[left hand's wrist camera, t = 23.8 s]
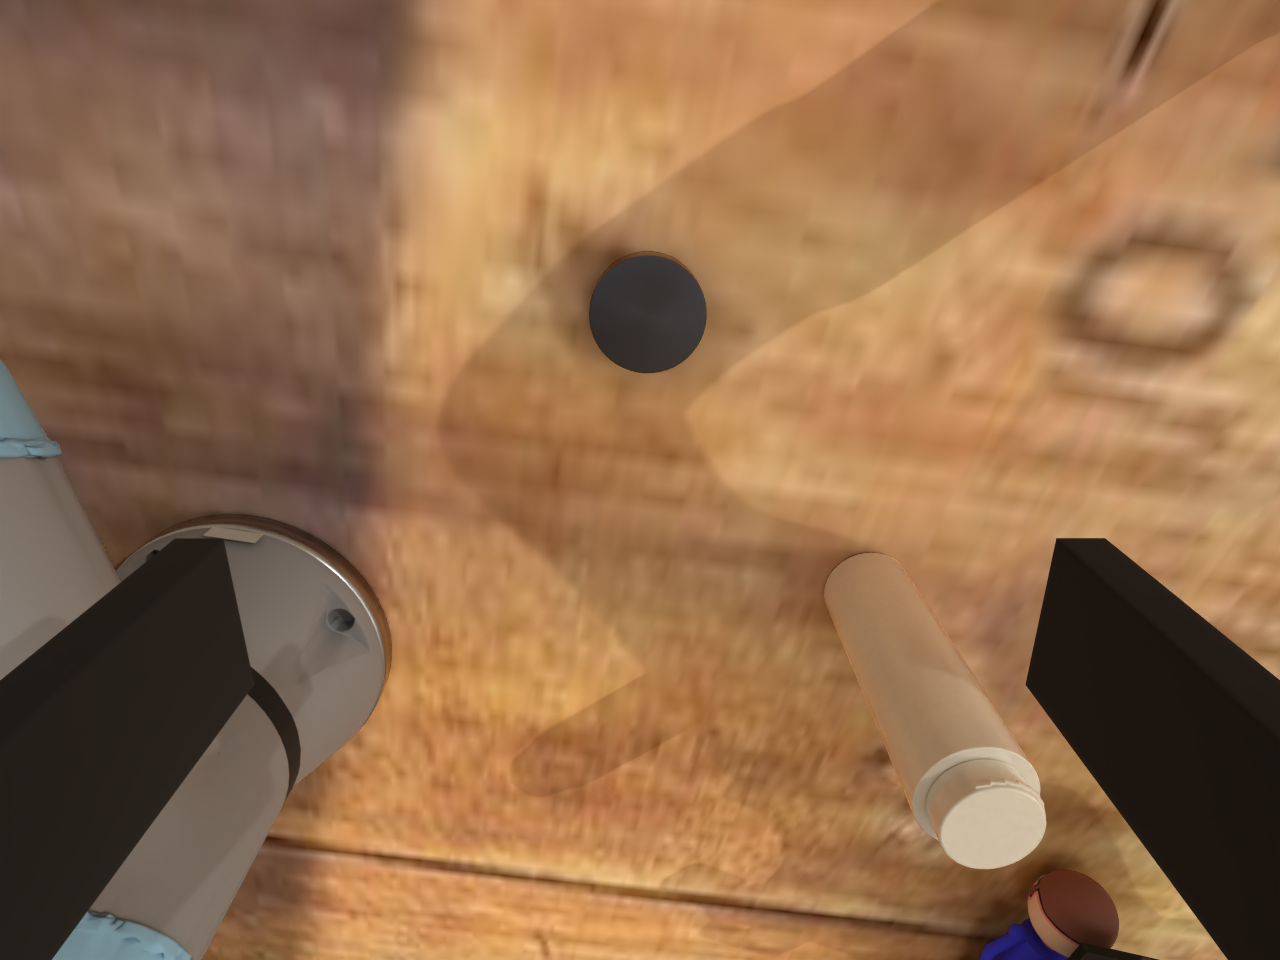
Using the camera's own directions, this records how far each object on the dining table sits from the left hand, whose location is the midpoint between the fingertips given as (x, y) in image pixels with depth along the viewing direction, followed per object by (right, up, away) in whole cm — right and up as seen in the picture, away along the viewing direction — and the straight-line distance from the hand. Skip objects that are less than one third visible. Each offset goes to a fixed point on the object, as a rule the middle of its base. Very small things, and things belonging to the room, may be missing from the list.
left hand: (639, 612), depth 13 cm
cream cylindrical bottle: (+12, -4, +31) cm, 34 cm away
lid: (0, +10, +24) cm, 26 cm away
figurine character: (+25, -28, +41) cm, 56 cm away
